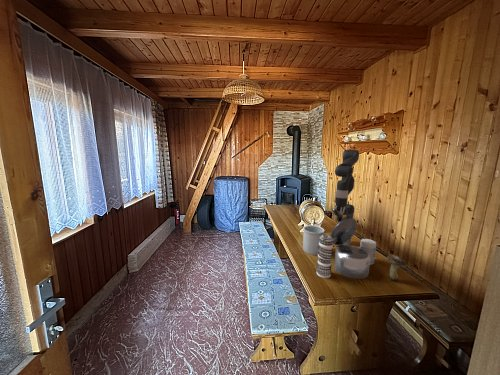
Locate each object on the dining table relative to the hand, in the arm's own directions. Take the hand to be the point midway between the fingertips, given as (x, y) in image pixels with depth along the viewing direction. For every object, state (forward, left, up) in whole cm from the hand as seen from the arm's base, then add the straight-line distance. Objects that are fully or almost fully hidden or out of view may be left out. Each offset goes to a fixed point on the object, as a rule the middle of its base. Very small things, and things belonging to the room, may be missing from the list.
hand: (339, 221), depth 145 cm
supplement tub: (-18, +10, -28) cm, 35 cm away
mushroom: (-14, +31, -28) cm, 44 cm away
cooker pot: (0, +13, -28) cm, 31 cm away
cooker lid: (0, +5, -4) cm, 7 cm away
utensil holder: (+6, -17, -28) cm, 34 cm away
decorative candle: (+20, +10, -28) cm, 36 cm away
